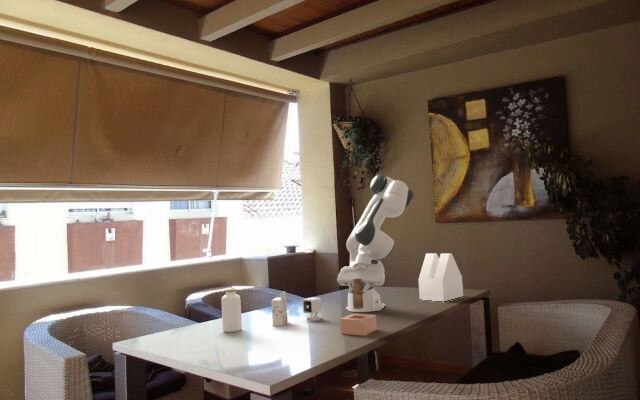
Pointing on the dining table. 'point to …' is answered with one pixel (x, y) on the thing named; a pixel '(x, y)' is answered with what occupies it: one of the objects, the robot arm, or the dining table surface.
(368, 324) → the socket block
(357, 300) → the dowel
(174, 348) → the dining table surface
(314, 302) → the security camera
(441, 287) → the white notched block
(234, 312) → the potion bottle
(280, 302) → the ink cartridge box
